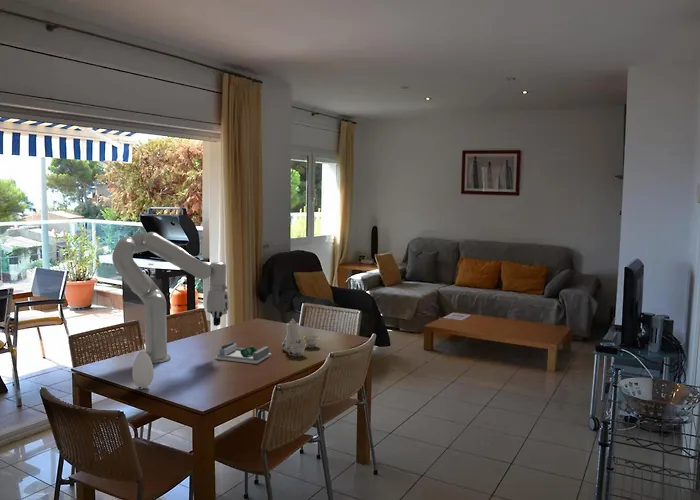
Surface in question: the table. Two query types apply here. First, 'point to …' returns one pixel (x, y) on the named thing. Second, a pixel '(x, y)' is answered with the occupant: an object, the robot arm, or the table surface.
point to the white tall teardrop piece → (142, 370)
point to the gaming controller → (248, 351)
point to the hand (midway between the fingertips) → (216, 325)
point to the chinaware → (297, 340)
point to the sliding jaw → (228, 348)
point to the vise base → (237, 356)
